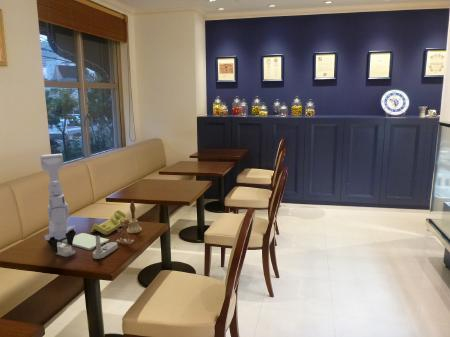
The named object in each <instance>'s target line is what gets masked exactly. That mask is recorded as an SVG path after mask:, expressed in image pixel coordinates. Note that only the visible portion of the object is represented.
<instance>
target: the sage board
mask: <svg viewBox="0 0 450 337" xmlns="http://www.w3.org/2000/svg"><path fill="white" fill-rule="evenodd" d="M96 236H97V235H93V234H89V233H85V232H81V233H78V234H75V236H74V239H73V244H72V247H73V246H74V247H77V248H79V249H80V248H81V249H83V250H87V251H91V250H94V249H95V247H96ZM61 243H64V244H67V238H66V239H65V238H64V239H62V242H61ZM100 243H101V246H102V245H105V244H107V243H110V239H109V238H104V237H101V236H100ZM104 243H105V244H104Z"/></svg>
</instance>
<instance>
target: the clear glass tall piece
mask: <svg viewBox="0 0 450 337" xmlns="http://www.w3.org/2000/svg"><path fill="white" fill-rule="evenodd" d="M122 220H124V221H125V222H124V223H123V221H122ZM122 220H120V224H121V225H120V227H121V228H120V227H119V226H118V227H117V229H116V231H117V232H118V233H120V232H121V234H120V236H119V238H118V239H116V240H115V242H116V243H117V244H120V243H121V245H127V246H128V245H129V246H131V245H133V244H134V243H135V242H136V240H135V239H132V238H131V237H130V235H129V233H127V230H129V229H130V228H131V224H130V223H128V221H127V219H126V220H125V219H122ZM121 221H122V223H121ZM128 227H130V228H129V229H128ZM123 234H124V235H123ZM122 235H123V237H122Z"/></svg>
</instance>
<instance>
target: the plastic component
mask: <svg viewBox="0 0 450 337" xmlns="http://www.w3.org/2000/svg"><path fill="white" fill-rule="evenodd" d="M122 219H125V220H126V221H127V219H128V216H127V214H126V213H124V212H123V211H122V210H120V209H118V210H116V211H115V212H114V214H112V215H111V216H110V218H108V219H107V220H105V221H104V222H102V223H100V224H97V223H94V224H92V226H91V229H90V232H91V233H95V232H96V231H98V232H99V233H101V234H102V235H105V236H107V235H110V234H112V233H113V232H114V231H117V227H118V226H119V228H120V227H121V226H120V225H121V224H120V220H122ZM122 221H123V224H125V223H124V222H125V221H124V220H122ZM122 221H121V223H122Z"/></svg>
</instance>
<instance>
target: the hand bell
mask: <svg viewBox="0 0 450 337" xmlns="http://www.w3.org/2000/svg"><path fill="white" fill-rule="evenodd" d="M135 205H136V204H135V203H134V200H133V201H130V204H129V209H130V213H131V214H130V215H131V219H130V220H129V221H128V222H129V223H130V224H131V228H130V227H128V226H127V229H129V228H130V229H129V230H127V233H128V234H136V233H140V232H141V231H143V228H142V227H141V226H140V224H139V220H138V219H136V215H135V212H136V206H135Z"/></svg>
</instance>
